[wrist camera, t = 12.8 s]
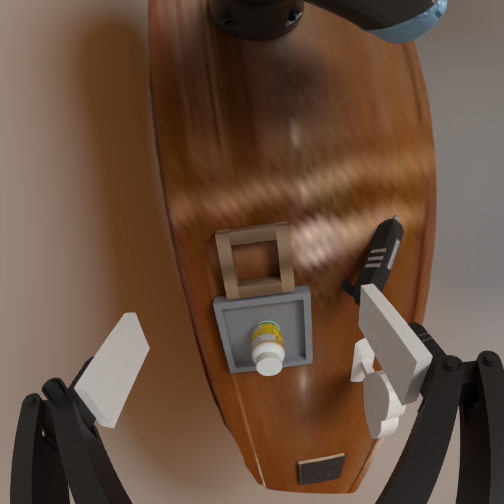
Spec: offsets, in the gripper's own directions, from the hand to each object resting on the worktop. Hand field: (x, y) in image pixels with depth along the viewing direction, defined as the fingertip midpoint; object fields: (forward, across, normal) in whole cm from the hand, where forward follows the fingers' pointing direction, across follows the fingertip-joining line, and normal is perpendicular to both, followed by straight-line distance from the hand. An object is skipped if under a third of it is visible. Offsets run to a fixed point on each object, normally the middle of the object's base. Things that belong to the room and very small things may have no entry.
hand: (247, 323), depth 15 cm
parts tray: (+29, 0, -21) cm, 36 cm away
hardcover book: (+29, +12, -91) cm, 96 cm away
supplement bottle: (+28, 0, -21) cm, 35 cm away
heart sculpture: (+29, +20, -34) cm, 49 cm away
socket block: (+29, 0, -7) cm, 30 cm away
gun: (+29, +19, -8) cm, 36 cm away
